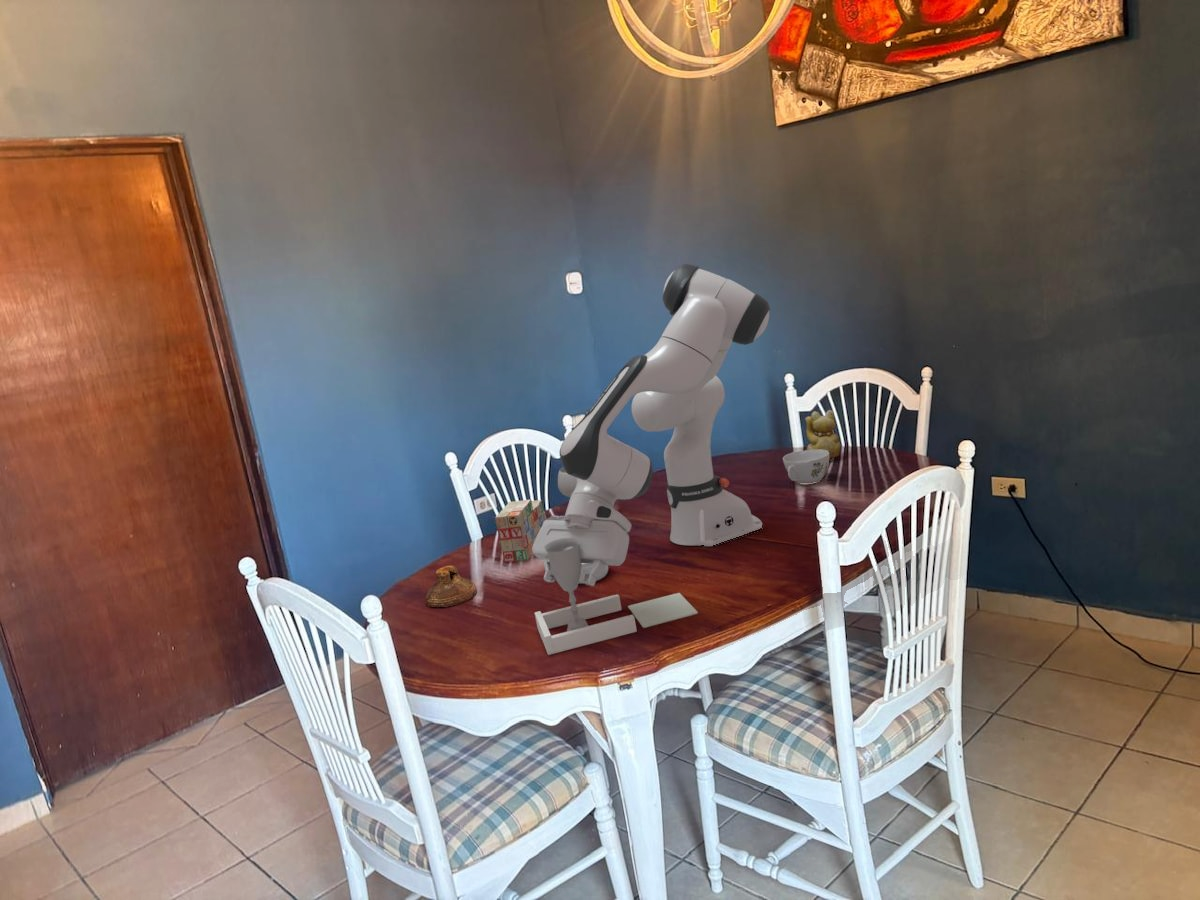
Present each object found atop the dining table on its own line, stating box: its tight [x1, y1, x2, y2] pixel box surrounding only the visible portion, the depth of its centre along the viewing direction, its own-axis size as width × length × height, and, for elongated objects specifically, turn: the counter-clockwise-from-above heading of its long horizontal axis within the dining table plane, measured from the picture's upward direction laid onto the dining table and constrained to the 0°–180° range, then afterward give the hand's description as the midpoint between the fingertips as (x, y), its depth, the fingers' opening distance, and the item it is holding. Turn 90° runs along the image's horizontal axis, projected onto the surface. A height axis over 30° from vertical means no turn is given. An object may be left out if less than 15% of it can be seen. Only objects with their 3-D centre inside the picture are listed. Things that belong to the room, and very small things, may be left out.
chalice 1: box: [557, 466, 577, 499], centre depth 227 cm, size 14×14×15 cm
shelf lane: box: [534, 593, 638, 656], centre depth 157 cm, size 17×12×4 cm
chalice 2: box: [544, 538, 590, 632], centre depth 155 cm, size 7×7×18 cm
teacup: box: [782, 449, 830, 484], centre depth 225 cm, size 15×12×8 cm
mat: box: [627, 592, 699, 629], centre depth 161 cm, size 11×11×1 cm
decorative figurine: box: [804, 409, 842, 461], centre depth 243 cm, size 10×8×15 cm
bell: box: [425, 565, 477, 607], centre depth 186 cm, size 12×12×7 cm
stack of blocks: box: [494, 499, 547, 563], centre depth 212 cm, size 21×6×12 cm, turn 169°
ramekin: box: [578, 563, 609, 585], centre depth 185 cm, size 11×11×5 cm
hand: (568, 582), depth 155 cm, fingers open, 8 cm apart
